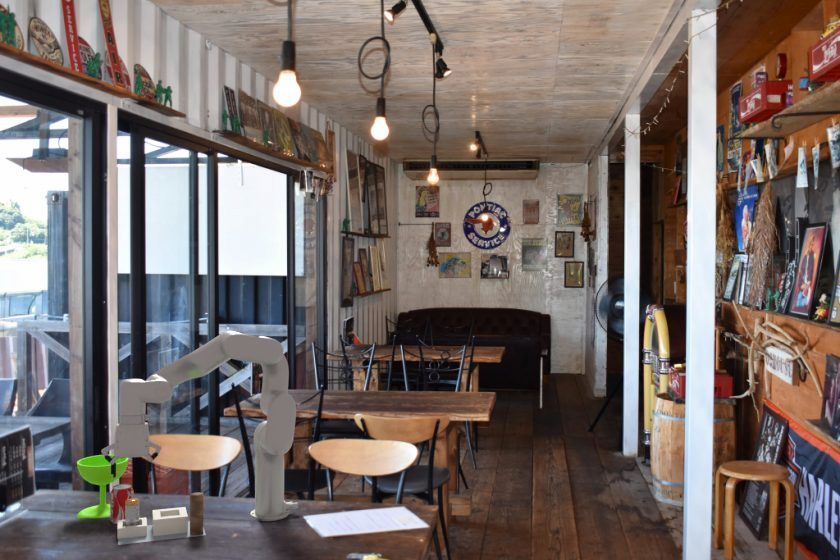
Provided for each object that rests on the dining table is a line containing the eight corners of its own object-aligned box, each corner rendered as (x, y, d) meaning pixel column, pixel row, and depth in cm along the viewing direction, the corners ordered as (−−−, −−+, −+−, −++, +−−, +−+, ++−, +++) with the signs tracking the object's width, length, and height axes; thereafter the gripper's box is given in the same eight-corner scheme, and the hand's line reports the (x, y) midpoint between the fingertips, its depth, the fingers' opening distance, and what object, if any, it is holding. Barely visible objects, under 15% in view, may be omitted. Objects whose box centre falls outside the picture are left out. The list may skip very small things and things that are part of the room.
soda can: (125, 527, 244) (125, 490, 244) (105, 525, 246) (105, 488, 246) (137, 520, 251) (138, 483, 251) (118, 518, 253) (118, 482, 253)
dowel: (202, 530, 240) (202, 491, 240) (203, 534, 236) (204, 495, 236) (189, 531, 238) (189, 493, 238) (190, 536, 235) (190, 496, 234)
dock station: (201, 522, 250) (201, 504, 250) (205, 538, 236) (205, 518, 235) (117, 531, 241) (117, 512, 241) (117, 548, 227) (117, 528, 226)
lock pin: (139, 529, 240) (139, 497, 240) (139, 534, 236) (139, 501, 236) (125, 531, 238) (125, 499, 238) (125, 535, 235) (125, 502, 234)
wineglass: (110, 503, 269) (111, 452, 269) (138, 512, 260) (138, 459, 259) (66, 515, 256) (67, 461, 256) (94, 525, 247) (94, 469, 246)
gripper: (161, 416, 243) (160, 470, 243) (102, 418, 237) (101, 474, 237) (162, 420, 236) (161, 476, 236) (101, 423, 230) (100, 480, 230)
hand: (131, 475), depth 237 cm, fingers open, 9 cm apart
